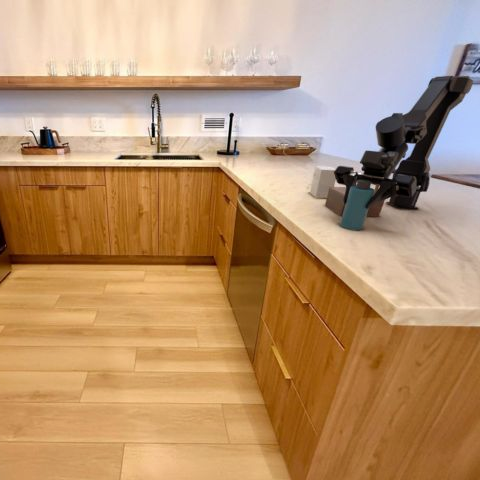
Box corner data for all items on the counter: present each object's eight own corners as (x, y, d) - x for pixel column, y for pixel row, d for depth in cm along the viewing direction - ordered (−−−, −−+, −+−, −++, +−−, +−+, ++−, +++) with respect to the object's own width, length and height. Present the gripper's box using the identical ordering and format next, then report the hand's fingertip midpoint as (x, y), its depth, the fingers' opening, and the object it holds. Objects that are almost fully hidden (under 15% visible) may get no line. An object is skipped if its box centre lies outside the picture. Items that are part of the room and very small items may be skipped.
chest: (359, 206, 98) (364, 189, 96) (379, 216, 88) (385, 198, 86) (324, 205, 99) (328, 188, 96) (340, 215, 89) (345, 197, 87)
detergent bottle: (353, 222, 83) (366, 178, 78) (366, 230, 78) (382, 183, 73) (335, 223, 83) (348, 178, 78) (348, 230, 78) (362, 183, 73)
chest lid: (367, 189, 95) (371, 175, 94) (388, 198, 86) (393, 183, 84) (329, 188, 96) (332, 175, 94) (345, 197, 87) (349, 182, 85)
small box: (331, 198, 106) (338, 170, 101) (314, 198, 107) (321, 169, 102) (324, 193, 113) (331, 166, 109) (309, 192, 114) (315, 165, 110)
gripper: (346, 136, 80) (314, 180, 79) (430, 142, 66) (393, 195, 65) (352, 162, 87) (323, 202, 86) (429, 172, 73) (396, 221, 72)
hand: (355, 205), depth 77 cm, fingers closed on detergent bottle, 5 cm apart
